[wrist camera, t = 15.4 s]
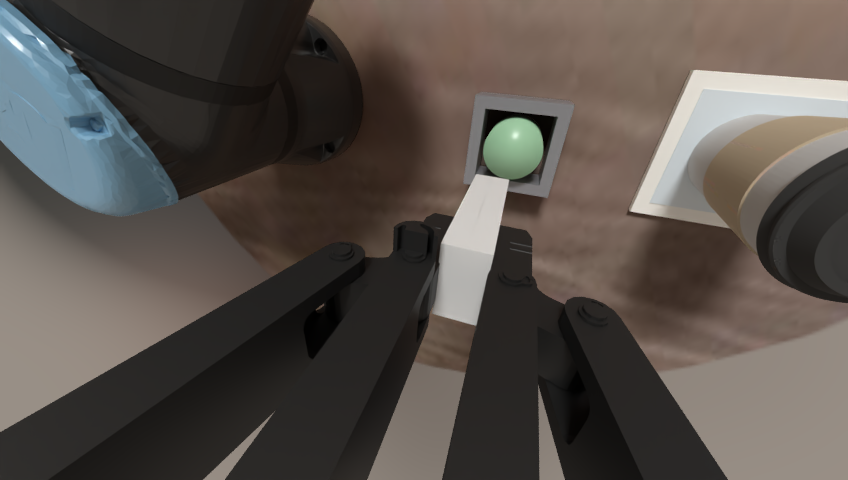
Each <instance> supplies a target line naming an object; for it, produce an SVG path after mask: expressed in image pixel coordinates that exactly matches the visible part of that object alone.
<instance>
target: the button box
mask: <svg viewBox="0 0 848 480" xmlns="http://www.w3.org/2000/svg"><path fill="white" fill-rule="evenodd" d="M574 106H575V105H574V104H573V103H572V102H571V101H569V100H559V99H549V98H539V97H529V96H519V95H509V94H499V93H489V92H480V93H478V94H476V96H475V103H474V110H473V117H472V124H471V132H470V139H469V146H468V153H467V160H466V168H465V175H464V182H463V184H469V185H471V183H472V181H473V179H474V177H475V176H476V174H479V175H485V176H491V177H497V178H501V177H499V176H497V175H495V174H494V173H492V172H491V171H490V169H489V168H488V167H486V166H480V164H481V158H482V151H483V145H484V139H485V133H486V127H487V121H488V115H489V109H494V110H503V111H512V112H521V113H530V114H538V115H547V116H554V120H553V123H552V127H551V131H550V135H549V139H548V142H547V146H546V150H545V154H544V157H543V161H542V165H541V169H540V172H539V175H538V174H531V173H530V174H528V175H526V176H524V177H522V178H519V179H509V183H508V188H507V191H510V192H516V193H522V194H528V195H534V196H540V197H546V198H548V195H549V191H550V188H551V185H552V181H553V178H554V174H555V171H556V168H557V164H558V161H559V157H560V154H561V150H562V147H563V144H564V140H565V137H566V133H567V130H568V127H569V123H570V120H571V116H572V113H573V109H574ZM503 179H504V178H503Z"/></svg>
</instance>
